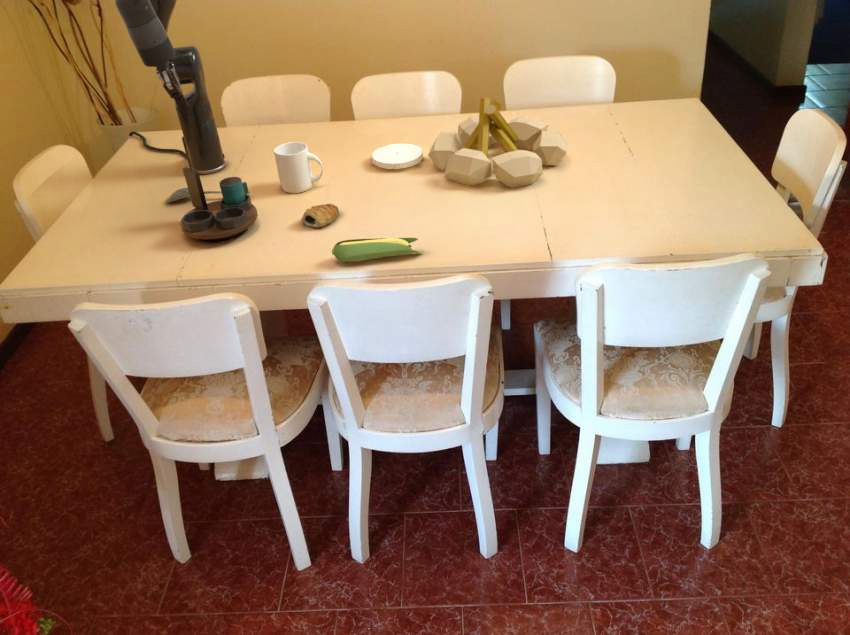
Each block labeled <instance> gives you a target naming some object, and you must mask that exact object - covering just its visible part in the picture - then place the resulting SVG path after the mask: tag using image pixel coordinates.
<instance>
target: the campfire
mask: <svg viewBox="0 0 850 635" xmlns="http://www.w3.org/2000/svg"><path fill="white" fill-rule="evenodd" d="M502 107H503V105H502V104H500V102H498V101H496V100H493V101H492V102H491V98H489V97H482V98H480V99H479V114H478V115H476V116H470V117H468V118H467V119H465V120H463V121H462V122H459V123H458V126H457V131H440V133H438V134H437V135H436V138H435V140H434V141H433V144H432V145H431V147H430V150H429V152H428V154H427V156H428V157H429V159H430V160H431V162H432V163H433V166H435V168H436V169H438V170H441V171H444V170H445V171H444V175H443V177H444V178H446V179H448V180H451V181H453V182H456V183H458V184H462V185H466V186H474V185H479V184H482V183H484V182H485V181H487V180H488V179H489V178H490V177H491V176H492V165H493V169H494V175H495V179H496V180H498V181H499V182H501V183H503V184H504V185H506V186H508V187H510V188H511V189H513V188H518V187H523V186H531V185H532V184H533V183H535V182H536V180H538V179H539V178H540V177H541V176H542V175H543V174H544V172H543V171H544V169H543V166H549V167H551V166H553V167H554V166H555V167H557V166H559V164H560V163H561V161H562V160H563V158H564V157H565V156H566V154H567V153H568V143H567V141H566V139H565V138H564V136H563V135H562V133H561V131H559V130H558V131H557V130H556V131H553V130H552V131H551V130H550V131H549V130H548V129H549V123H548V122H546V121H543V120H540V119H538V118H536V117H530V116H520V117H515V118H513V119H511V120H509V121H507V120H506V119H505V117H504V116H503V115H502V114H501V112H500V110H501V109H502ZM495 142H496V143H497V144H498V145H499V147H500V148H501V149H502V150H503V151H504V153H502V154H498V155H496V156H494V157H491V160H492V162H491V160H490V159H489V148H491V147H492V146H493V144H494V143H495Z"/></svg>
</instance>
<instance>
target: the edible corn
mask: <svg viewBox="0 0 850 635" xmlns="http://www.w3.org/2000/svg"><path fill="white" fill-rule="evenodd" d="M418 240H419V238H416V237H386V238H384V237H383V238H381V237H379V238H356V239H355V238H354V239H346V240H341V241H338V242H337V243H335V244H334V246H333V248H331V254H332V256H334V257H335V259H336V260H338V261H339V262H341V263H347V264H348V263H357V262H365V261H371V260H378V259H384V258H391V257H399V256H406V255H407V256H408V255H415V254H423V253H426V251H425V250H414V249H413V248H412V247H413V246H412V245H411V243H414V242H416V241H418Z"/></svg>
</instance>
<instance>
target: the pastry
mask: <svg viewBox="0 0 850 635" xmlns="http://www.w3.org/2000/svg"><path fill="white" fill-rule="evenodd" d="M339 215H340V210H339V207H338V205H335V204H333V203H325V204H320V205H319V204H318V205H312V206H311V208H307V209H306V210H305V212H304V213H303V214H302V216H301V218H300V219H301V220H300V221H301V223H302V224H304V226H306V227H313V228H317V229H318V228H324V227H326V226H327V225H328V224H332V223H333V221H335V220H336V219H337V218H338V216H339Z"/></svg>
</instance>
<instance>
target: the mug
mask: <svg viewBox="0 0 850 635" xmlns="http://www.w3.org/2000/svg"><path fill="white" fill-rule="evenodd" d="M273 153H274V159H275V163H276V169H277V173H278V179H279V184H280V188H281V189H282V191H284V193H287V194H288V193H289V194H300V193H303V192H306V191H309V190H311V189H312V188H313V186H314V183H317V182H319V181H320V180H321V179H322V178H323V175H324V166H323V163H322V161H321V159H320V158H319V157H318V156H317V155H315V154H314V153H311V152H309V147H308V145H307V144H306V143H305V142H301V141H291V142H286V143H282V144H279V145H278V146H276V147H274V148H273ZM311 161H314V162H317V163H318V164H319V165H320V168H321V171H320V174H318V175H314V174H313V170H312V164H311Z"/></svg>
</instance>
